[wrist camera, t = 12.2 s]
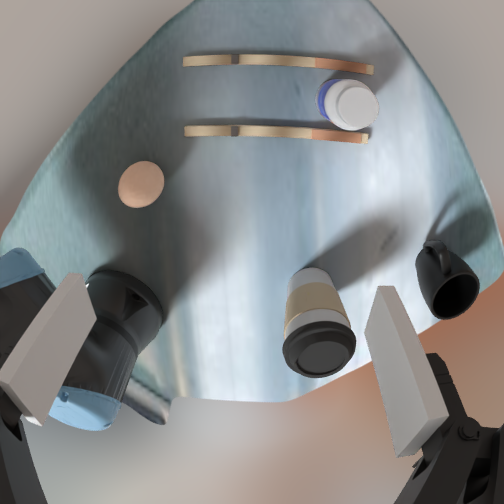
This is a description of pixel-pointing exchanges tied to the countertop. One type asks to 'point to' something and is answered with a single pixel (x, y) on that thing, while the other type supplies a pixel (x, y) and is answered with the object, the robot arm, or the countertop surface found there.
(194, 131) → the beam track
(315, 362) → the coffee cup
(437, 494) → the robot arm
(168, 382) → the countertop surface
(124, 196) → the egg
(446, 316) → the mug
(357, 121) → the pill bottle
